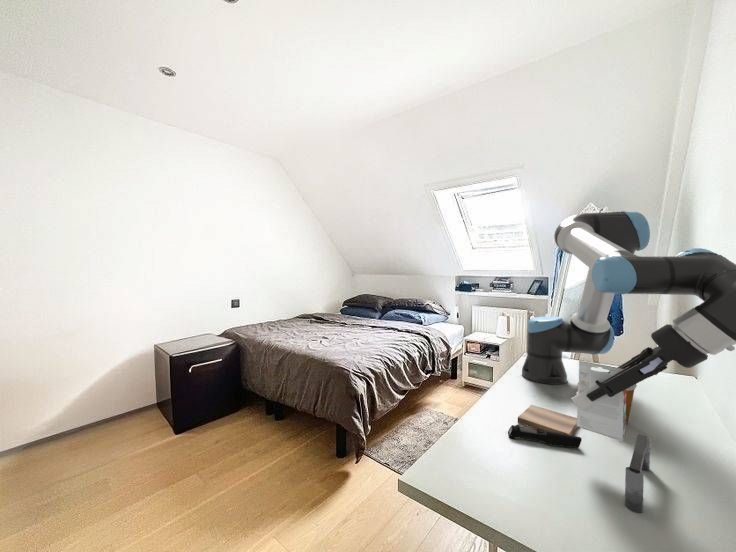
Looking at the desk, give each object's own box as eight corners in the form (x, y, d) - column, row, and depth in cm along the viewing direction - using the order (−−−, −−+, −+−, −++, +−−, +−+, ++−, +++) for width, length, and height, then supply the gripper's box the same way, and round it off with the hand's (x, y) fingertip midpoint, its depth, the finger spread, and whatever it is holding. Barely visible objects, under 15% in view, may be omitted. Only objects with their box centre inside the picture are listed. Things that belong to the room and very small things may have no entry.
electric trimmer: (583, 455, 71) (583, 441, 70) (508, 439, 76) (509, 427, 76) (579, 446, 74) (579, 433, 74) (507, 432, 80) (508, 420, 80)
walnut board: (531, 409, 92) (531, 404, 92) (579, 424, 84) (579, 418, 84) (517, 422, 84) (517, 417, 84) (568, 439, 76) (569, 433, 76)
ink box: (580, 421, 70) (582, 357, 69) (626, 435, 64) (628, 365, 63) (575, 427, 67) (577, 360, 67) (622, 442, 61) (624, 369, 61)
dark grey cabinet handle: (635, 462, 67) (635, 430, 67) (650, 467, 65) (650, 434, 65) (623, 507, 54) (624, 468, 54) (642, 515, 53) (643, 475, 52)
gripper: (714, 367, 48) (584, 431, 61) (708, 347, 60) (600, 404, 72) (668, 329, 52) (554, 396, 64) (670, 317, 63) (574, 376, 76)
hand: (579, 401), depth 68 cm, fingers closed on ink box, 4 cm apart
